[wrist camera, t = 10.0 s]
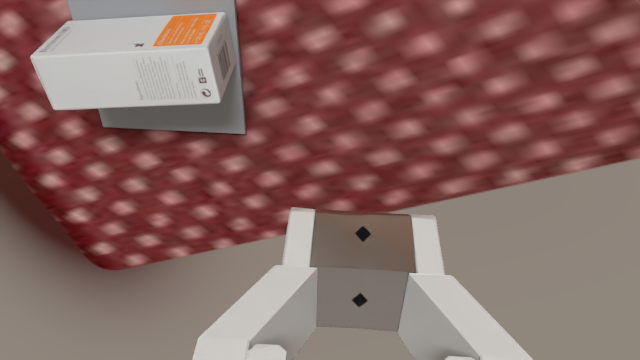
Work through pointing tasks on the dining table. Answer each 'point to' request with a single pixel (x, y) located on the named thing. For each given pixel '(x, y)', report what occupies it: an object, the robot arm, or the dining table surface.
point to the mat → (219, 118)
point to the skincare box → (137, 62)
